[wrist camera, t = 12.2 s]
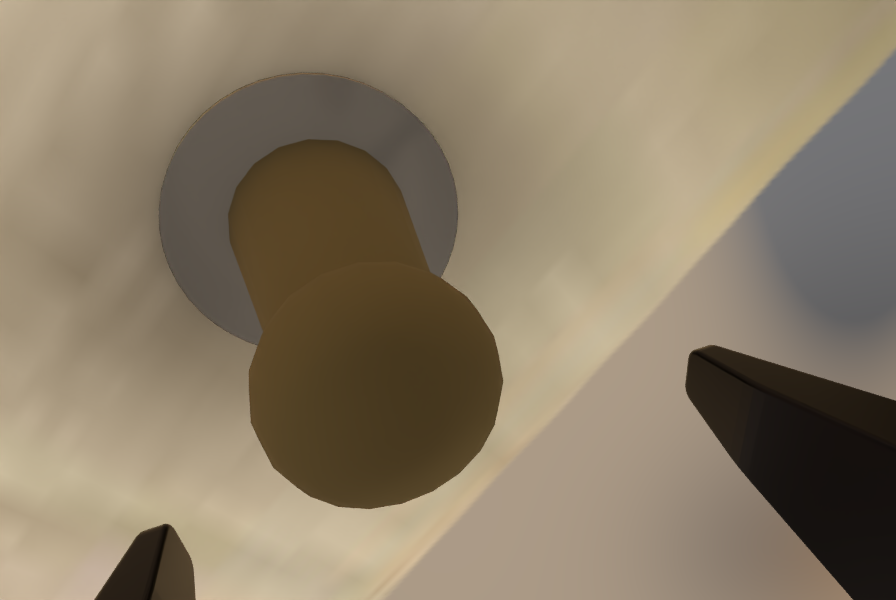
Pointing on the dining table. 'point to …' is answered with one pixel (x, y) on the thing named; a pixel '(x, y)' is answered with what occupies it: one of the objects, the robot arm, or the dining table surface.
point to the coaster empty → (259, 133)
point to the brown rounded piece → (356, 333)
